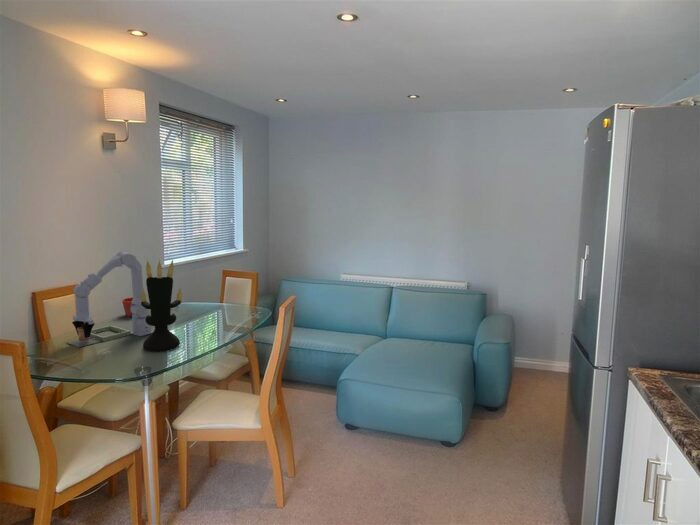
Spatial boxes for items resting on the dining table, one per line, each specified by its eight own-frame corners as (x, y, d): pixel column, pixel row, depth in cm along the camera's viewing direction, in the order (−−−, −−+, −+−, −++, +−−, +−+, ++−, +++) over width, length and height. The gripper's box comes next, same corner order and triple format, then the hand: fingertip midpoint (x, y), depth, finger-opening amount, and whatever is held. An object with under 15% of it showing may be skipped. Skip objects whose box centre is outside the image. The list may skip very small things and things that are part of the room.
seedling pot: (93, 338, 239) (93, 327, 238) (82, 342, 234) (81, 330, 233) (86, 336, 242) (85, 324, 241) (75, 339, 237) (74, 327, 236)
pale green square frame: (130, 334, 253) (130, 330, 253) (103, 341, 241) (103, 337, 240) (111, 328, 262) (111, 325, 262) (83, 335, 249) (83, 331, 249)
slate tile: (101, 342, 240) (101, 341, 240) (79, 347, 231) (79, 346, 231) (88, 337, 246) (88, 337, 245) (66, 343, 236) (66, 342, 236)
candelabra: (182, 340, 247) (181, 252, 241) (184, 354, 227) (182, 259, 220) (142, 343, 241) (139, 253, 234) (140, 357, 220) (137, 259, 213)
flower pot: (135, 318, 285) (134, 301, 284) (119, 316, 287) (118, 300, 286) (146, 313, 295) (146, 298, 294) (130, 312, 298) (129, 296, 296)
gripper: (65, 308, 236) (67, 335, 238) (82, 312, 229) (84, 340, 231) (80, 305, 242) (81, 331, 244) (97, 310, 234) (98, 337, 236)
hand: (83, 336), depth 238 cm, fingers closed on seedling pot, 6 cm apart
